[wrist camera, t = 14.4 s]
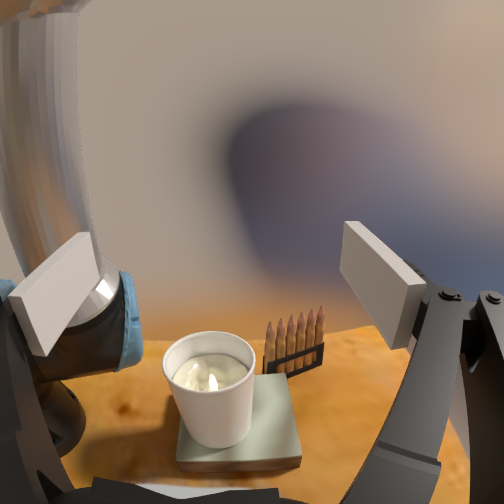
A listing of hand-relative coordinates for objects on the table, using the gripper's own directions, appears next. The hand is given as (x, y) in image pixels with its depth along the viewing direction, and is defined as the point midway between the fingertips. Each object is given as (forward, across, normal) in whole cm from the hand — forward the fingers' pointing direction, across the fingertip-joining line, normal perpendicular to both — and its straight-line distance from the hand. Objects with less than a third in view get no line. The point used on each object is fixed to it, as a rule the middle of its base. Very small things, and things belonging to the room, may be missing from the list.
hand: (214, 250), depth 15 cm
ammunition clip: (+22, +10, -32) cm, 40 cm away
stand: (+11, 0, -32) cm, 34 cm away
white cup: (+10, -2, -28) cm, 30 cm away
